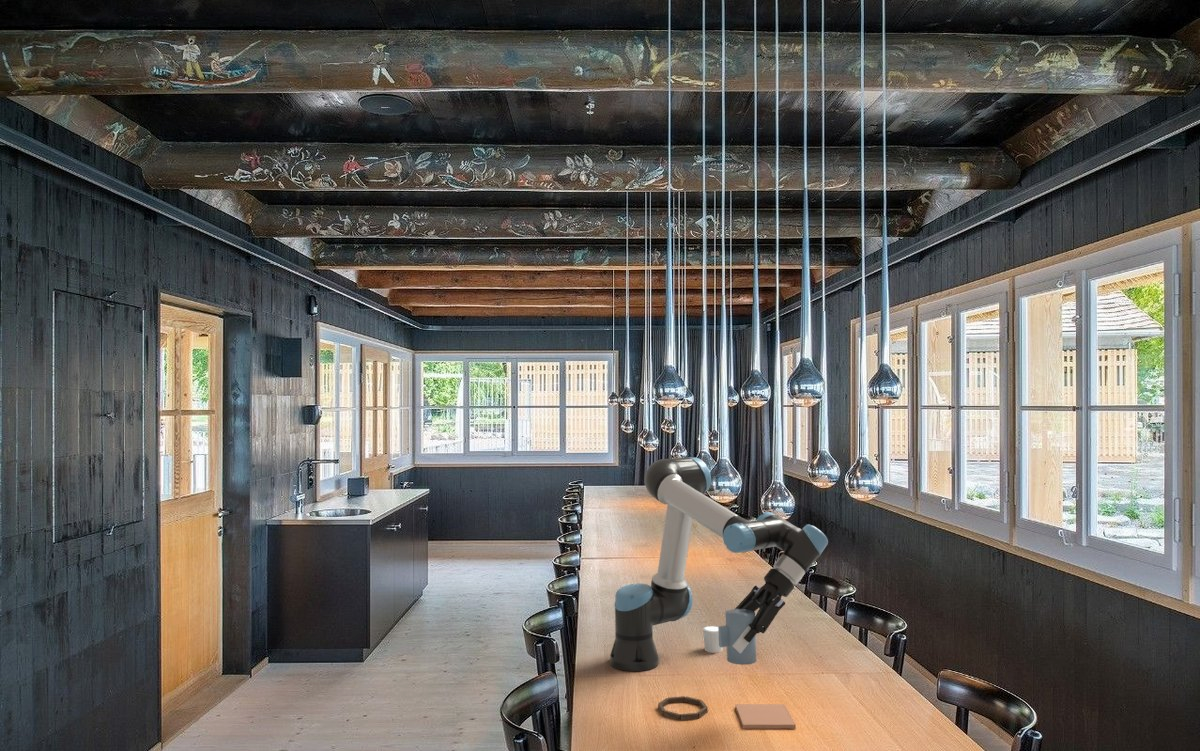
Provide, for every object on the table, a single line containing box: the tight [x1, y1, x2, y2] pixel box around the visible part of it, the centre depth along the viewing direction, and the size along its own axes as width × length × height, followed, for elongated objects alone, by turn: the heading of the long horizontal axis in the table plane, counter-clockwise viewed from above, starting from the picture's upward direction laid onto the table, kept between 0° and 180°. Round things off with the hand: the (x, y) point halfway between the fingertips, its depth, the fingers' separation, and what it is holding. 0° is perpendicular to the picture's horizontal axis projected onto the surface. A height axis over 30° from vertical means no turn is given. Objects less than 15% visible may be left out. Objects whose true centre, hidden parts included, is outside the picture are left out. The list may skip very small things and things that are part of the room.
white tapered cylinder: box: [702, 625, 724, 654], centre depth 255 cm, size 7×7×7 cm
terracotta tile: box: [734, 703, 797, 730], centre depth 200 cm, size 13×13×1 cm
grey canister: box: [717, 608, 758, 666], centre depth 201 cm, size 10×8×12 cm
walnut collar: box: [657, 695, 709, 721], centre depth 206 cm, size 12×12×1 cm
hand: (729, 645), depth 200 cm, fingers closed on grey canister, 8 cm apart
